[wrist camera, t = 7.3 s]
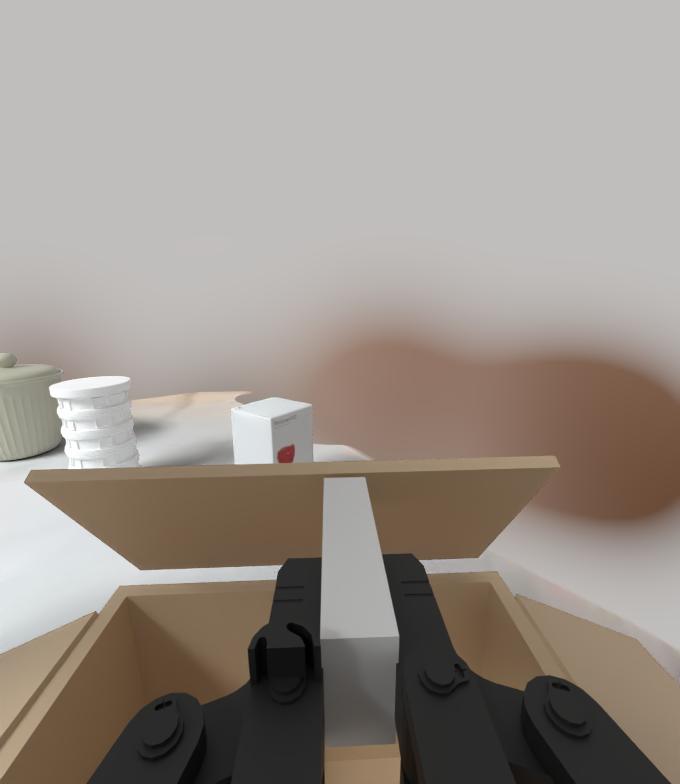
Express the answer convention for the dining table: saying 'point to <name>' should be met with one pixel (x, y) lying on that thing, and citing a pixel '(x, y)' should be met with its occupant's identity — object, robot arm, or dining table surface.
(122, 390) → the decorative container
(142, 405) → the dining table surface
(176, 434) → the dining table surface
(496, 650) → the carton
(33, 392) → the canister
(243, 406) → the supplement box
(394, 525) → the carton flap
